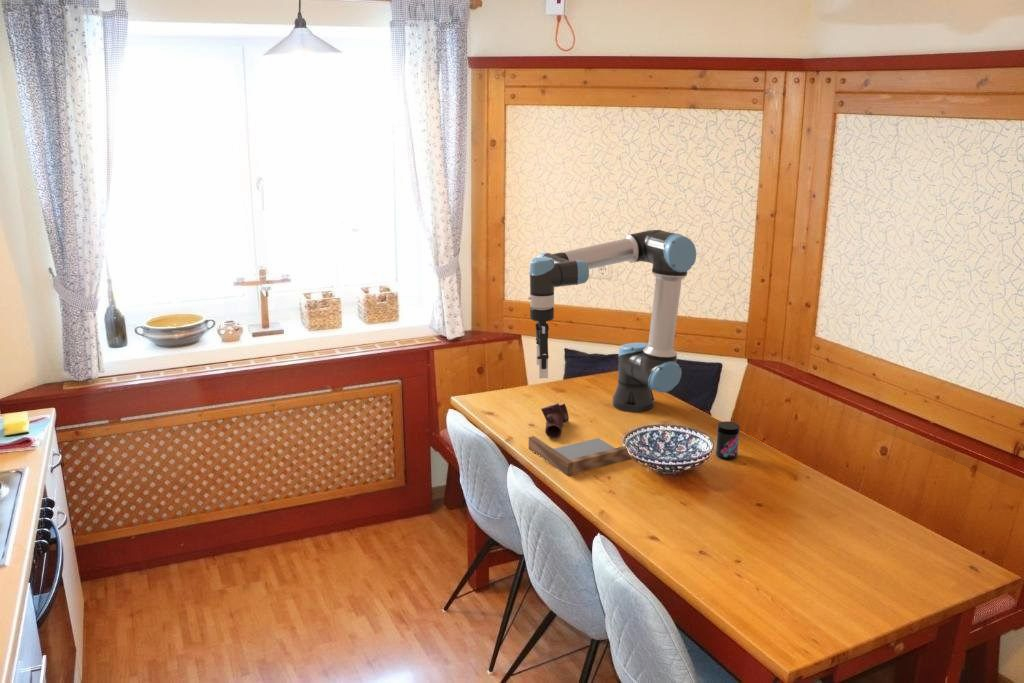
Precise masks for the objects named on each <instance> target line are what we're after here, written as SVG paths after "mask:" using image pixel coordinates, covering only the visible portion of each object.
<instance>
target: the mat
mask: <svg viewBox="0 0 1024 683" xmlns="http://www.w3.org/2000/svg"><path fill="white" fill-rule="evenodd" d="M615 448H616V447H614V446H612V445H611V444H609V443H607V442H606V441H604V440H603V439H601V438H599V437H596V438H593V439H588V440H585V441H581V442H580V441H579V442H575V443H572V444H571V443H570V444H568V445H567V444H566V445H563V446H559V447H555V448H553V449H554V450H556V451H557V452H559V453H560V454H562V455H563V456H565V457H566V458H568V459H569V460H570V459H574V458H578V457H582V456H586V455H590V454H594V453H599V452H603V451H607V450H611V449H615Z"/></svg>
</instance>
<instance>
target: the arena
mask: <svg viewBox="0 0 1024 683" xmlns="http://www.w3.org/2000/svg"><path fill="white" fill-rule="evenodd" d="M626 446H627V445H624V446H620V447H614V448H615V449H611V450H607V451H603V452H599V453H594V454H590V455H586V456H582V457H578V458H574V459H570V460H569V459H568V458H566V457H565V456H563V455H562V454H560V453H559V452H557V451H556V450H554V448H553V447H551V446H550V445H548V444H546V443H545V442H544V441H542V440H541V439H539V437H536V436H535V435H532V436H528V449H529V450H530V449H531V450H532V452H533V451H534V452H535V453H537V454H538V455H540V456H541V457H543V458H544V459H545V460H544V459H543V458H542V459H543V460H544V461H546V460H547V461H548V462H549V464H550V463H551V464H552V466H553V467H554V466H555V467H554V468H555V469H557V470H558V469H559V470H558V471H559V472H561V471H562V472H561V473H562V474H564V475H566V476H567V477H568V476H572V475H575V474H580V473H584V472H587V471H591V470H595V469H598V468H603V467H606V466H610V465H615V464H618V463H622V462H626V461H630V460H633V456H632V457H631V456H630V455H629V453H628V451H627V448H626ZM531 450H530V451H531ZM534 452H533V453H534ZM535 453H534V454H535ZM537 454H536V455H537ZM538 455H537V456H538ZM540 456H539V457H540ZM541 457H540V458H541ZM547 461H546V462H547ZM548 462H547V463H548ZM551 464H550V465H551Z"/></svg>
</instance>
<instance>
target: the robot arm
mask: <svg viewBox="0 0 1024 683" xmlns="http://www.w3.org/2000/svg"><path fill="white" fill-rule="evenodd" d="M696 260H697V249H696V246H695V244H694V242H693V241H692V240H691V239H690V238H689V237H687V236H685V235H682V234H680V233H674V232H670V231H665V230H662V229H650V230H645V231H640V232H637V233H636V232H635V233H631V234H627V235H625V236H624V238H623V239H617V240H612V241H607V242H603V243H599V244H594V245H590V246H585V247H581V248H575V249H571V250H567V251H566V250H565V251H561V252H557V253H550V252H542V253H540V254H538V255H536V257H534V258H531V260H530V262H529V272H528V274H529V294H530V296H528V297H527V300H529V301H530V302H529V304H530V309H529V318H530V320H532V321H534V322H536V323H535V327H534V328H535V334H536V336H535V341H536V342H535V343H536V346H535V347H536V349H535V351H536V352H535V354H536V358H535V361H536V362H535V364H536V366H537V365H538V377H539V378H538V379H549V341H548V340H549V330H550V328H549V324H548V323H547V322H550V321H553V320H554V318H555V309H554V306H555V288H559V287H566V286H578V285H582V284H585V283H587V282H588V280H589V277H590V270H592V269H598V268H601V267H605V266H610V265H614V264H619V263H624V262H629V263H637V262H639V263H640V262H643V263H649V264H652V269H651V272H652V273H651V274H653V276H654V277H655V284H654V292H653V300H652V301H653V302H652V309H651V310H652V311H651V318H650V325H649V334H648V341H647V342H630V343H629V342H628V343H625V344H622V345H620V346H619V350H618V356H617V357H618V371H617V385H616V388H615V392H614V394H613V396H612V406H613V407H614V408H615V409H617V410H620V411H623V412H630V413H631V412H632V413H640V412H646V411H650V410H652V409H654V408H655V397H654V394H653V391H655V392H658V393H662V394H663V393H668V392H670V391H672V390H673V389H674V388H675V387H676V386H677V385H678V384H679V383H680V380H681V378H682V368H681V367H680V364H678V363H677V358H678V353H677V351H676V350H675V349H674V347H675V346H674V345H675V336H676V330H677V319H678V312H679V305H680V304H679V303H680V295H681V289H682V288H681V287H682V281H683V279H685V278H686V277H687V275H688V271H689V270H691V268H692V266H694V265H695V264H696Z"/></svg>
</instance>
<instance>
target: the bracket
mask: <svg viewBox="0 0 1024 683" xmlns="http://www.w3.org/2000/svg"><path fill="white" fill-rule="evenodd" d="M540 409H541V410H540V411H542V414H543V416H544V419H545V421H546V422H545V429H544V430H545V431H544V432H545V435H546V436H547V437H548V438H550V439H559V438H560V437H561V435H562V434H563V426H564V423H568V422H569V420H570V419H569V418H570V417H569V412H568V408H567V406H566V404H565V402H564V403H563V402H562V403H559V402H557V403H553V404H549V405H547V406H546V405H545V406H543V407H541V408H540Z"/></svg>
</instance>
